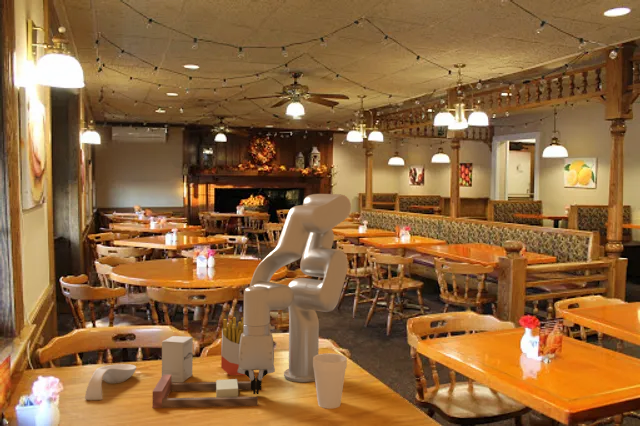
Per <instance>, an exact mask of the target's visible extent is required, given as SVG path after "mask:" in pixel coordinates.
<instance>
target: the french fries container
mask: <svg viewBox="0 0 640 426" xmlns="http://www.w3.org/2000/svg"><path fill="white" fill-rule="evenodd" d="M222 323H223V326H222V328H221V352H220V353H221V356H220V357H221V359H220V360H221V367H220V368H221V369H222V370H223V371H224V372H225V373H227V374H228V376H246V375H245V374H241V373H238V372H237V371H238V367H239V363H238V359H239V344H240V337H241V334H242V333H243V329H244V316H242V317H241V321H238V323H237V317H235V316H233V317H232V320H229V321H228V319H227V318H223V321H222ZM237 324H238V325H237Z"/></svg>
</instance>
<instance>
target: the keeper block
mask: <svg viewBox="0 0 640 426" xmlns="http://www.w3.org/2000/svg"><path fill="white" fill-rule="evenodd" d="M215 382H216V390H215V392H216V393H215V395H216V396H215V397H239V390H238V383H237V382H238V379H237V378H235V379H234V378H231V379H216V381H215Z"/></svg>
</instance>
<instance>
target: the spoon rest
mask: <svg viewBox="0 0 640 426" xmlns="http://www.w3.org/2000/svg"><path fill="white" fill-rule="evenodd" d="M136 370H137V366H136V365H134V364H130V363H128V364H124V363H120V364H119V363H118V364H117V363H116V364H109V365H103V366H100V367H97V368H96V369H95V370H94V371H93V374H92V375H91V377H90V379H89V381H88V385H87V386H86V387H87V388H86V391H85V396H84V397H85V398H84V399H85V400H86V401H101V400H103V389H102V383H103V381H104V382H105V383H106V384H119V383H123V382H125V381H127V380H128V379H130V378H131V377H132V376H133V375H134V373H135V372H136Z"/></svg>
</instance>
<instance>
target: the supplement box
mask: <svg viewBox="0 0 640 426" xmlns="http://www.w3.org/2000/svg"><path fill="white" fill-rule="evenodd" d="M193 338H194V337H193V336H178V335H174V336H173V335H172V336H169V337H168V338H166V339H164V340H162V341H161V376H162V375H171V383H185V382H186V380H188V379H189V378H190V377H192V376H193V356H194V355H193V351H194V349H193V347H194V346H193V343H194V341H193Z"/></svg>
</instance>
